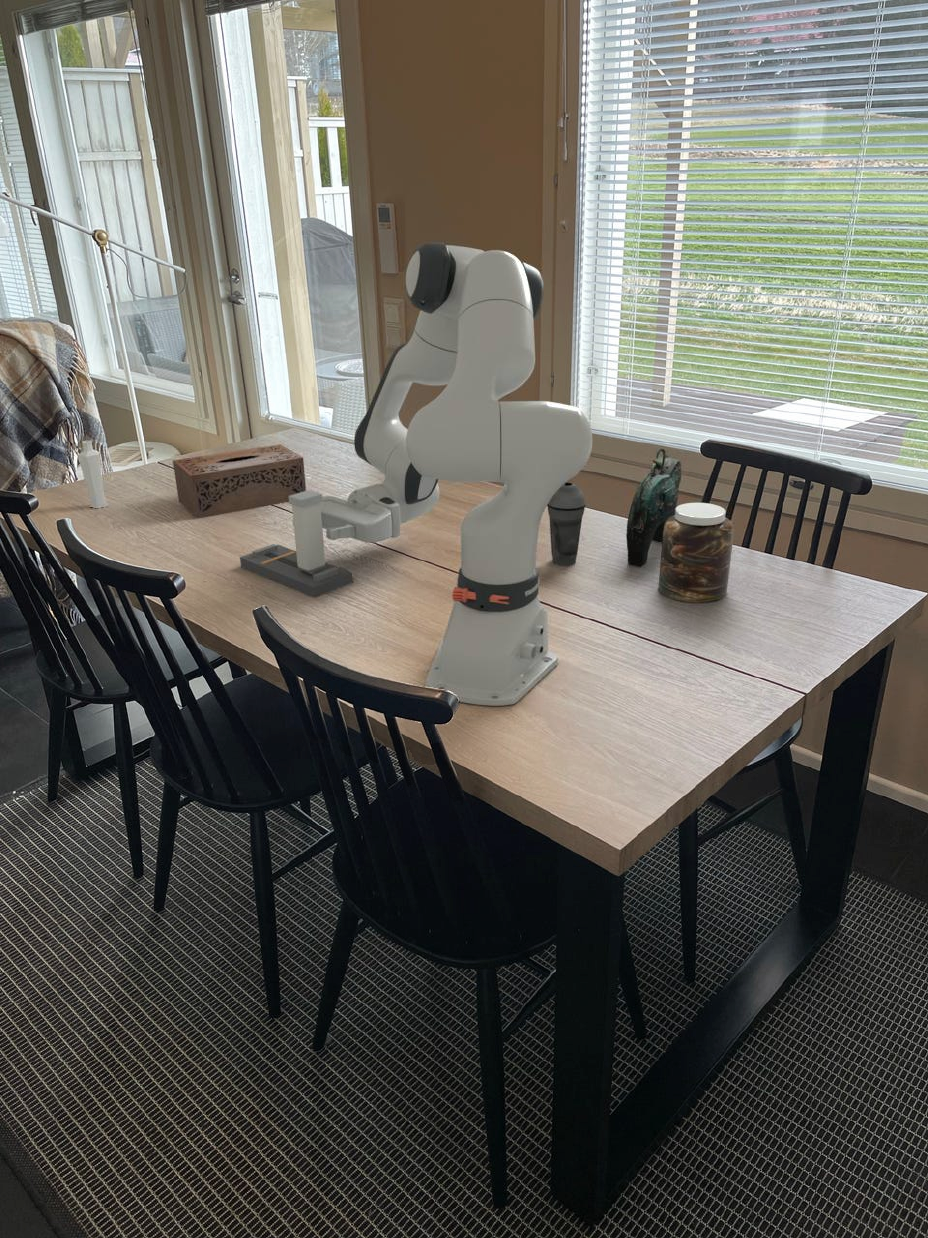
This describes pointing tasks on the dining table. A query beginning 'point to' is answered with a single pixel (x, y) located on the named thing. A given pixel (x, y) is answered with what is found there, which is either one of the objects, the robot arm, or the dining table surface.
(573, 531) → the beverage cup
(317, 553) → the fader tab
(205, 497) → the tissue box cover
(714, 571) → the jar
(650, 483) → the dark green arched sculpture
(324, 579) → the fader console
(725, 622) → the dining table surface
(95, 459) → the perfume bottle
